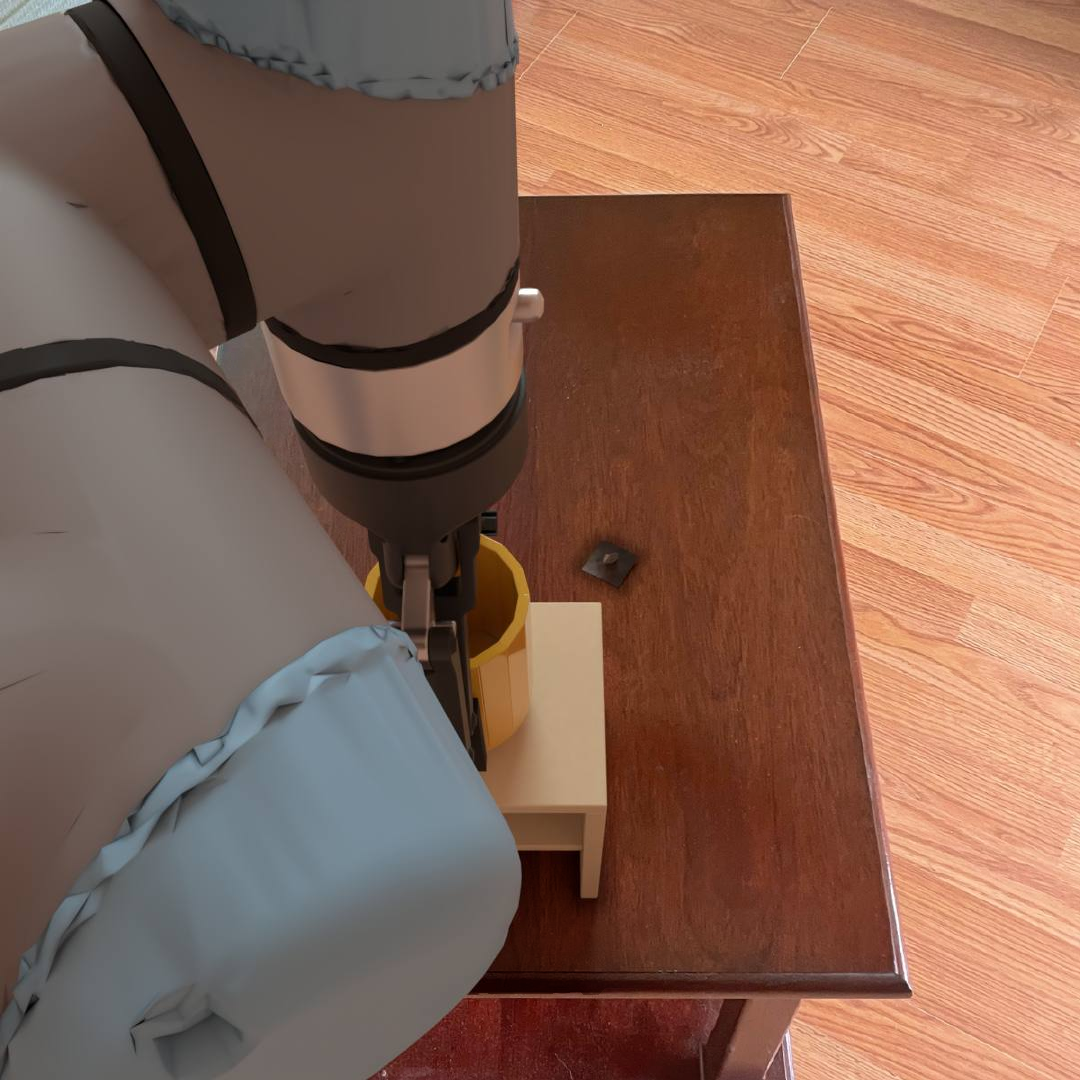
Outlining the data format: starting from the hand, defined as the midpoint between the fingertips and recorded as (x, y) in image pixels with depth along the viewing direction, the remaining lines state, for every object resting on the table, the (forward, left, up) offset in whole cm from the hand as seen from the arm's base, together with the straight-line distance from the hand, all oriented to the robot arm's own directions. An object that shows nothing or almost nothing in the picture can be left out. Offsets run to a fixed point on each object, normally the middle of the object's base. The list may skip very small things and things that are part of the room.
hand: (461, 687), depth 54 cm
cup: (0, 0, 0) cm, 0 cm away
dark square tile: (+17, +9, -17) cm, 26 cm away
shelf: (0, 0, -17) cm, 17 cm away
